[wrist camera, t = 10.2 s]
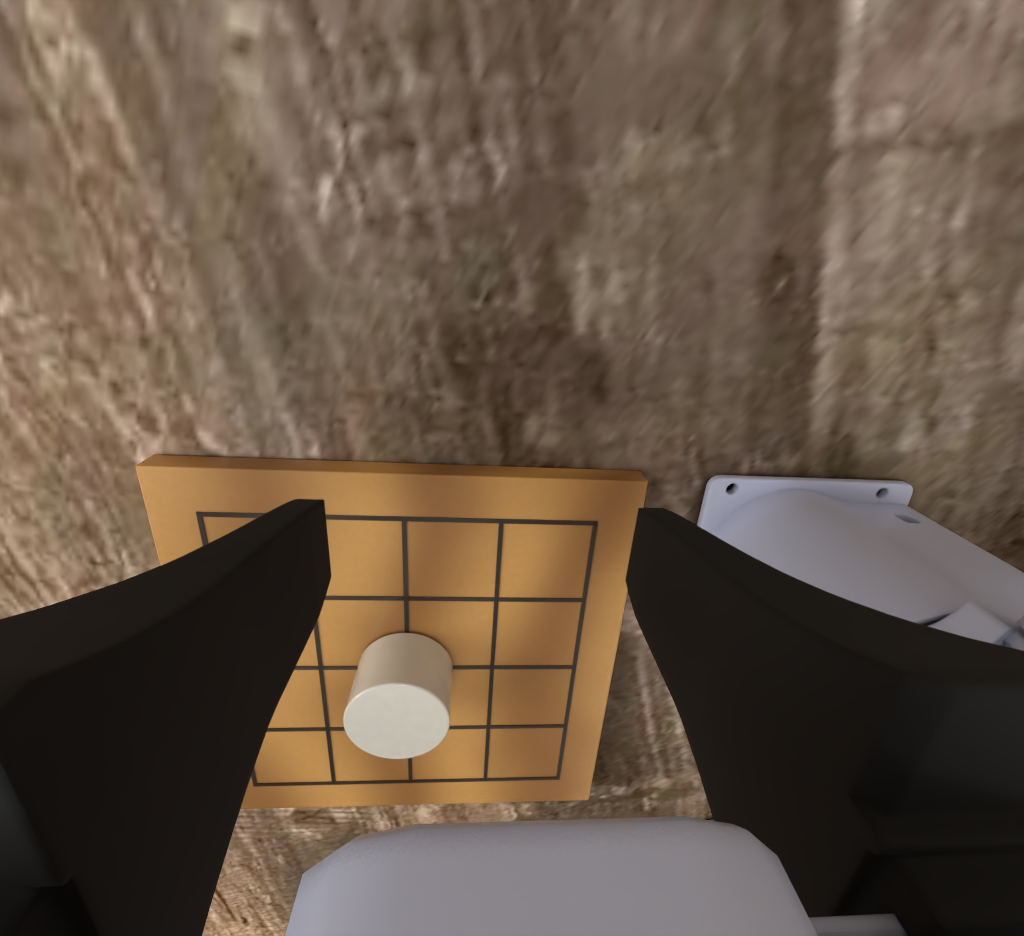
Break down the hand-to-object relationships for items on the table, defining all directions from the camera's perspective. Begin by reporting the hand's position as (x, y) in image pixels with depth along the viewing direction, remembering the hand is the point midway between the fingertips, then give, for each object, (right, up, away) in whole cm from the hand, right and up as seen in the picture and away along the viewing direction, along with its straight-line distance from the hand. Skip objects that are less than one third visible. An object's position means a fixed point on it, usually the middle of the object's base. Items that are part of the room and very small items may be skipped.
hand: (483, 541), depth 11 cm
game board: (-4, -7, +13) cm, 16 cm away
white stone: (-4, -8, +12) cm, 15 cm away
